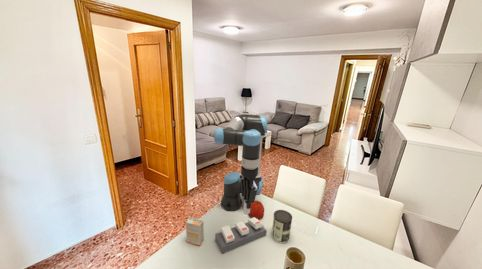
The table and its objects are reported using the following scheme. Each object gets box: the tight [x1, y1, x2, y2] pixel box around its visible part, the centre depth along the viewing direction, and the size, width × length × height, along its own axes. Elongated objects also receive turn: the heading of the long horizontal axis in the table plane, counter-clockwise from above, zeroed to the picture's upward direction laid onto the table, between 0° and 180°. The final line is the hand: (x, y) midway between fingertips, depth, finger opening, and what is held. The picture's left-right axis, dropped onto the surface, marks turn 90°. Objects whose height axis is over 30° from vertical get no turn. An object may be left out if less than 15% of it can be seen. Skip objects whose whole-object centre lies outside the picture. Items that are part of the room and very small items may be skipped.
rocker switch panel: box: [214, 221, 268, 255], centre depth 108 cm, size 10×28×5 cm, turn 119°
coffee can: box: [271, 209, 293, 244], centre depth 109 cm, size 10×10×14 cm
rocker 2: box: [234, 220, 249, 235], centre depth 107 cm, size 8×4×3 cm, turn 29°
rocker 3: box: [247, 217, 263, 229], centre depth 112 cm, size 8×4×3 cm, turn 29°
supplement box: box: [185, 216, 205, 247], centre depth 103 cm, size 8×5×13 cm, turn 74°
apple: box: [249, 200, 265, 220], centre depth 126 cm, size 10×10×10 cm
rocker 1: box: [220, 224, 235, 243], centre depth 102 cm, size 8×4×2 cm, turn 29°
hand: (246, 212), depth 89 cm, fingers closed
